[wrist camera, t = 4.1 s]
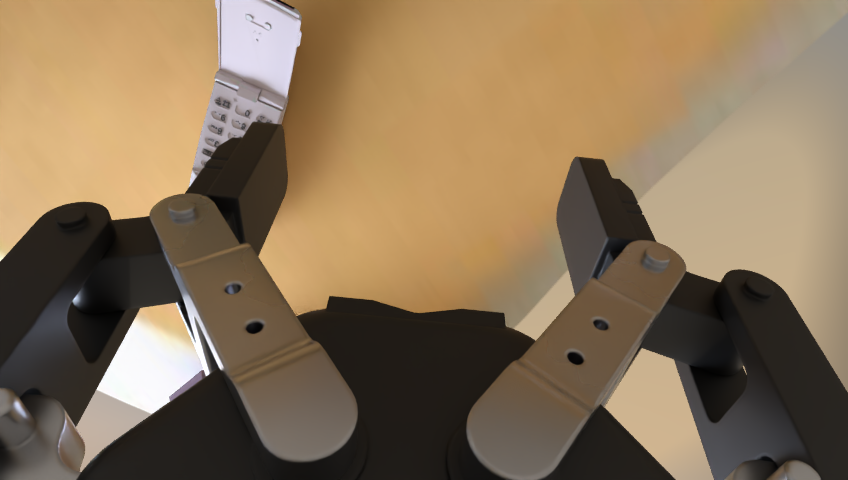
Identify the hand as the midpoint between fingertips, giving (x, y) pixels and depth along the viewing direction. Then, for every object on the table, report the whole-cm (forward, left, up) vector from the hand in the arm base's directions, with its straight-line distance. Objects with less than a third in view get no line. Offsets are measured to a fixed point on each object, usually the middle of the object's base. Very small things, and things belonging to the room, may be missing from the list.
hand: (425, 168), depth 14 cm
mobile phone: (+5, -19, -29) cm, 34 cm away
